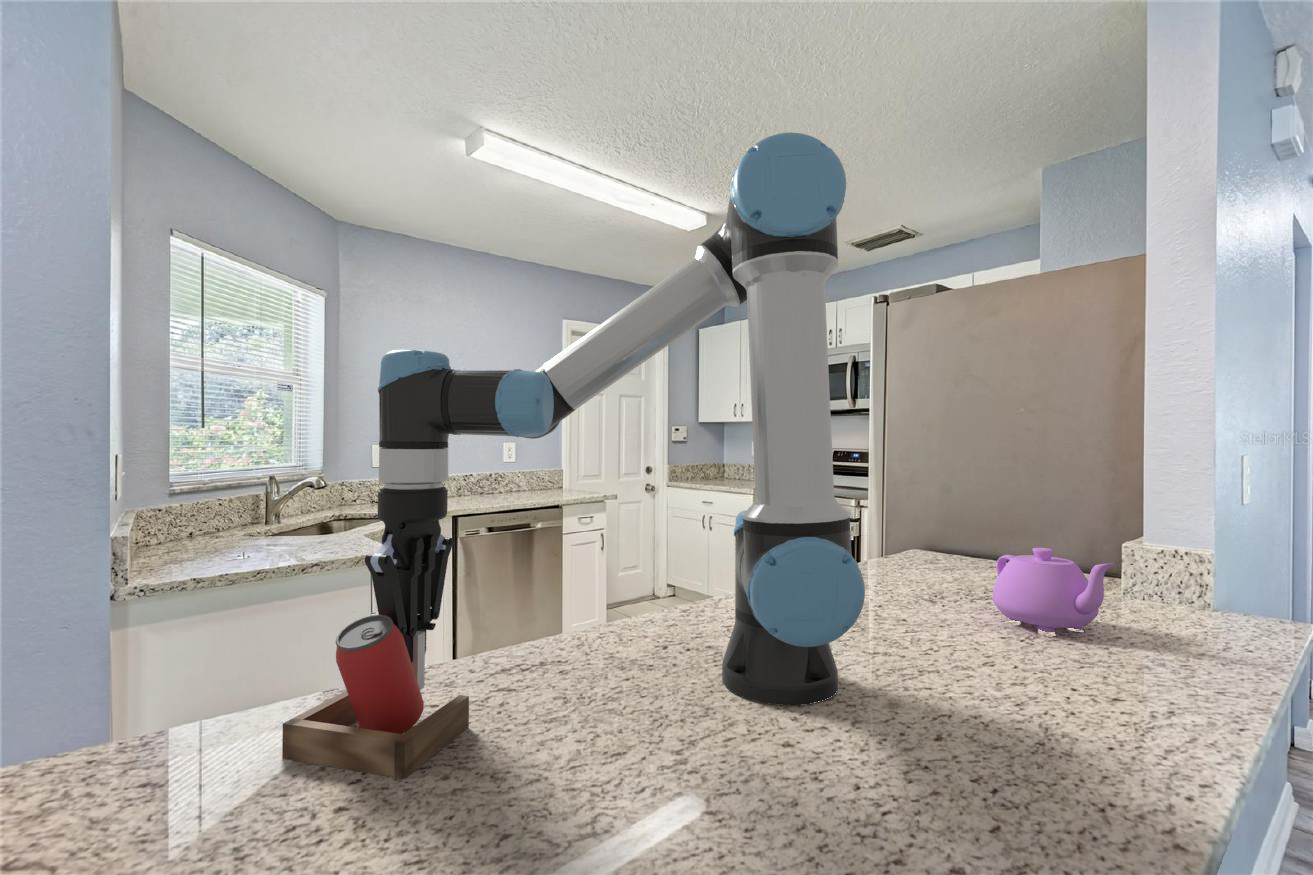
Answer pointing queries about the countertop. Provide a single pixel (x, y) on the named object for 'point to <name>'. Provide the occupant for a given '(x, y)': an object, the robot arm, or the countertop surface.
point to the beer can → (379, 675)
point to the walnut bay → (370, 738)
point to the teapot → (1048, 590)
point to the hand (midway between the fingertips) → (410, 687)
